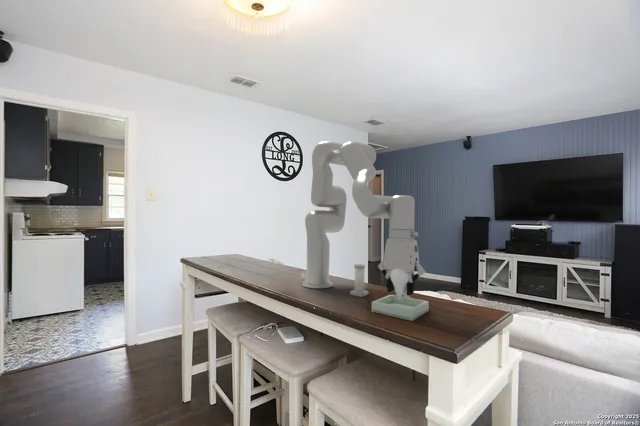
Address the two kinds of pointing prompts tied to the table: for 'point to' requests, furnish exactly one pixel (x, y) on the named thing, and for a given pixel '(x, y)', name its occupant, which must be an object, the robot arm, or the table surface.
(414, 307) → the tray
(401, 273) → the light bulb
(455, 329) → the table surface
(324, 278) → the robot arm
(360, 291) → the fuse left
